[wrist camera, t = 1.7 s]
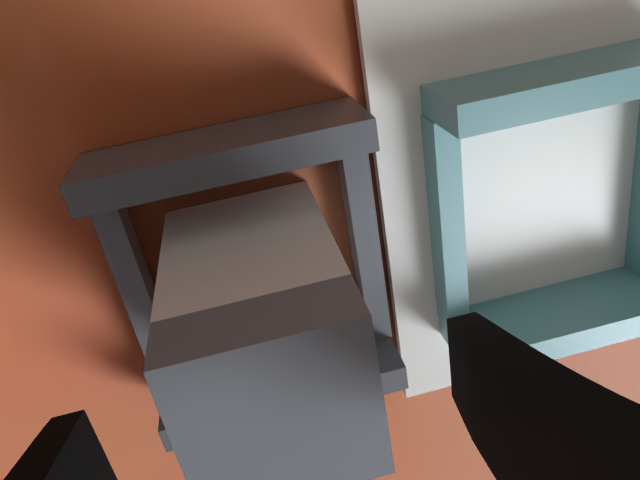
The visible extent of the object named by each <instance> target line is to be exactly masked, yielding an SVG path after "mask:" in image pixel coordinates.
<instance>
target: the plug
mask: <svg viewBox="0 0 640 480" xmlns="http://www.w3.org/2000/svg"><path fill="white" fill-rule="evenodd" d="M143 374H144V377H145V379H146V382H147V384H148V387H149V389H150V392H151V394H152V397H153V399H154V402H155V404H156V407H157V409H158V412H159V414H160V417H161V419H162V422H163V424H164V427H165V429H166V432H167V434H168V437H169V439H170V442H171V444H172V447H173V449H174V452H175V454H176V457H177V459H178V462H179V464H180V467H181V469H182V472H183V474H184V477H185V479H186V480H370V479H374V478H377V477H381V476H384V475H388V474H392V473H395V469H394V462H393V455H392V449H391V442H390V435H389V429H388V422H387V415H386V409H385V402H384V395H383V389H382V382H381V375H380V369H379V362H378V355H377V349H376V342H375V335H374V329H373V322H372V315H371V313H370V311H369V309H368V307H367V305H366V303H365V301H364V299H363V297H362V295H361V293H360V291H359V289H358V286H357V284H356V282H355V280H354V278H353V276H352V274H351V272H350V270H349V268H348V266H347V264H346V262H345V260H344V258H343V256H342V254H341V252H340V250H339V247H338V245H337V243H336V241H335V239H334V237H333V235H332V233H331V231H330V229H329V227H328V225H327V223H326V221H325V219H324V217H323V215H322V213H321V211H320V208H319V206H318V204H317V202H316V200H315V198H314V196H313V194H312V192H311V190H310V188H309V186H308V184H307V182H306V181H302V182H298V183H293V184H289V185H284V186H280V187H275V188H271V189H267V190H262V191H258V192H253V193H249V194H245V195H240V196H236V197H231V198H227V199H222V200H218V201H214V202H209V203H205V204H200V205H196V206H191V207H187V208H183V209H178V210H174V211H169V212H166V214H165V221H164V228H163V235H162V242H161V249H160V256H159V263H158V270H157V277H156V284H155V291H154V298H153V305H152V312H151V319H150V326H149V333H148V340H147V347H146V354H145V361H144V368H143Z"/></svg>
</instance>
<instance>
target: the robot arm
mask: <svg viewBox="0 0 640 480" xmlns="http://www.w3.org/2000/svg"><path fill="white" fill-rule="evenodd" d="M446 320H447V334H448V347H449V360H450V374H451V387H452V397H453V399H454V401H455V403H456V406H457V408H458V410H459V412H460V414H461V417H462V419H463V421H464V423H465V425H466V427H467V430H468V432H469V434H470V436H471V438H472V440H473V442H474V444H475V445H476V447H477V449H478V450H479V452H480V454H481V455H482V457H483V458H484V460H485V462H486V463H487V465H488V467H489V468H490V470H491V472H492V473H493V475H494V476H495V478H496V480H640V404H638V403H636V402H634V401H631V400H629V399H627V398H625V397H623V396H621V395H619V394H617V393H615V392H613V391H611V390H609V389H607V388H605V387H603V386H601V385H599V384H597V383H595V382H593V381H591V380H589V379H587V378H586V377H584V376H582V375H580V374H578V373H576V372H575V371H573V370H571V369H569V368H567V367H565V366H564V365H562V364H560V363H558V362H557V361H555V360H553V359H552V358H550V357H548V356H546V355H545V354H543V353H541V352H540V351H538V350H536V349H535V348H533V347H531V346H530V345H528V344H526V343H525V342H523V341H522V340H520V339H518V338H517V337H515V336H514V335H512V334H510V333H509V332H507V331H506V330H504V329H502V328H501V327H499V326H498V325H496V324H495V323H493V322H491V321H490V320H488V319H487V318H485V317H483V316H482V315H480V314H478V313H477V312H472V313H468V314H464V315H460V316H456V317H452V318H448V319H446ZM4 480H117V478H116V475H115V473H114V471H113V469H112V467H111V465H110V463H109V461H108V459H107V457H106V455H105V452H104V450H103V448H102V446H101V444H100V442H99V440H98V438H97V436H96V434H95V431H94V429H93V427H92V425H91V423H90V421H89V419H88V417H87V415H86V413H85V411H84V410H81V411H77V412H73V413H69V414H65V415H61V416H57V417H53V418H51V419H50V421H49V422H48V423H47V424H46V425H45V427H44V428H43V429H42V430H41V432H40V433H39V434H38V435H37V437H36V438H35V439H34V441H33V442H32V443H31V445H30V446H29V447H28V448H27V450H26V451H25V452H24V454H23V455H22V456H21V458H20V459H19V460H18V462H17V463H16V464H15V466H14V467H13V468H12V469H11V471H10V472H9V473H8V475H7V476H6V477H5V479H4Z"/></svg>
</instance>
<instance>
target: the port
mask: <svg viewBox="0 0 640 480" xmlns="http://www.w3.org/2000/svg"><path fill="white" fill-rule="evenodd" d="M353 4H354V12H355V20H356V27H357V35H358V43H359V51H360V59H361V67H362V74H363V82H364V90H365V98H366V106H367V111H368V112H369V113H371V114H372V115H373V116H374V117H375V118H376V124H377V132H378V140H379V148H380V151H378V152H373V160H374V168H375V176H376V184H377V192H378V200H379V207H380V215H381V223H382V231H383V239H384V247H385V254H386V262H387V270H388V278H389V286H390V293H391V301H392V309H393V317H394V325H395V333H396V340H397V348H398V352H399V354H400V356H401V358H402V360H403V362H404V364H405V366H406V371H407V379H408V387H409V388H407V389H404V390H403V392H404V394H405V396H406V398H408V397H411V396H415V395H419V394H423V393H426V392H430V391H434V390H438V389H441V388H445V387H449V386H451V374H450V360H449V347H448V334H447V320H446V319H448V318H452V317H456V316H460V315H464V314H468V313H472V312H477V313H478V314H480V315H482V316H483V317H485V318H487V319H488V320H490V321H491V322H493V323H495V324H496V325H498V326H499V327H501V328H502V329H504V330H506V331H507V332H509V333H510V334H512V335H514V336H515V337H517V338H518V339H520V340H522V341H523V342H525V343H526V344H528V345H530V346H531V347H533V348H535V349H536V350H538V351H540V352H541V353H543V354H545V355H546V356H548V357H550V358H552V359H553V360H555V359H559V358H563V357H566V356H570V355H574V354H578V353H581V352H585V351H589V350H593V349H597V348H600V347H604V346H608V345H612V344H615V343H619V342H623V341H627V340H630V339H634V338H638V337H640V0H353Z"/></svg>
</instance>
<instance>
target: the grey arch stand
mask: <svg viewBox="0 0 640 480" xmlns="http://www.w3.org/2000/svg"><path fill="white" fill-rule="evenodd" d="M378 151H380V148H379V140H378V132H377V124H376V118H375V117H374V116H373V115H372V114H371V113H369V112H368V111H367V110H366V109H365V108H364V107H363V106H361V105H360V104H359V103H358V102H357V101H356V100H354V99H353V98H352V97H351V96H349V97H344V98H339V99H334V100H330V101H325V102H320V103H316V104H311V105H306V106H302V107H297V108H292V109H287V110H283V111H278V112H273V113H269V114H264V115H259V116H254V117H250V118H245V119H240V120H236V121H231V122H226V123H222V124H217V125H212V126H207V127H203V128H198V129H193V130H189V131H184V132H179V133H174V134H170V135H165V136H160V137H156V138H151V139H146V140H142V141H137V142H132V143H127V144H123V145H118V146H113V147H109V148H104V149H99V150H94V151H90V152H85V153H80V155H79V156H78V158H77V159H76V161H75V163H74V164H73V166H72V167H71V169H70V170H69V172H68V173H67V175H66V176H65V178H64V180H63V181H62V183H61V184H60V186H59V189H60V191H61V194H62V196H63V199H64V201H65V204H66V206H67V209H68V211H69V214H70V216H71V219H72V220H73V219H77V218H82V217H86V216H90V218H91V220H92V223H93V225H94V228H95V231H96V233H97V236H98V238H99V241H100V243H101V246H102V249H103V251H104V254H105V256H106V259H107V261H108V264H109V267H110V269H111V272H112V274H113V277H114V279H115V282H116V285H117V287H118V290H119V292H120V295H121V298H122V300H123V303H124V305H125V308H126V310H127V313H128V316H129V318H130V321H131V323H132V326H133V328H134V331H135V334H136V336H137V339H138V341H139V344H140V346H141V349H142V352H143V354H144V357H145V354H146V347H147V340H148V333H149V326H150V319H151V312H152V305H153V298H154V291H155V286H154V284H153V281H152V278H151V275H150V272H149V269H148V266H147V264H146V261H145V258H144V255H143V252H142V249H141V247H140V244H139V241H138V238H137V235H136V232H135V230H134V227H133V224H132V221H131V218H130V215H129V213H128V210H127V207H131V206H136V205H140V204H144V203H149V202H153V201H158V200H162V199H167V198H171V197H176V196H180V195H185V194H189V193H194V192H198V191H203V190H207V189H212V188H216V187H221V186H225V185H230V184H234V183H239V182H243V181H248V180H252V179H257V178H261V177H266V176H270V175H275V174H279V173H284V172H288V171H293V170H297V169H302V168H306V167H311V166H315V165H319V164H324V163H328V162H333V161H337V166H338V172H339V179H340V185H341V191H342V198H343V204H344V210H345V216H346V223H347V229H348V235H349V241H350V248H351V254H352V260H353V267H354V273H355V279H356V284H357V286H358V289H359V291H360V293H361V295H362V297H363V299H364V301H365V303H366V305H367V307H368V309H369V311H370V313H371V315H372V322H373V329H374V335H375V342H376V349H377V355H378V362H379V369H380V375H381V382H382V389H383V395H385V394H389V393H392V392H396V391H400V390H404V389H407V388H409V387H408V379H407V371H406V366H405V364H404V362H403V360H402V358H401V356H400V354H399V352H398V350H397V348H396V347H395V345H394V343H393V341H392V339H391V337H392V331H391V323H390V315H389V308H388V300H387V293H386V285H385V277H384V270H383V262H382V255H381V247H380V239H379V232H378V224H377V217H376V209H375V201H374V194H373V186H372V179H371V171H370V163H369V156H368V154H369V153H373V152H378ZM158 433H159V435H160V438H161V440H162V443H163V445H164V448H165V450H166V452H169V451H173V450H174V449H173V447H172V444H171V442H170V439H169V437H168V434H167V432H166V429H165V427H164V424H163V422H162V419H161V417H160V416H159V427H158Z"/></svg>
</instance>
